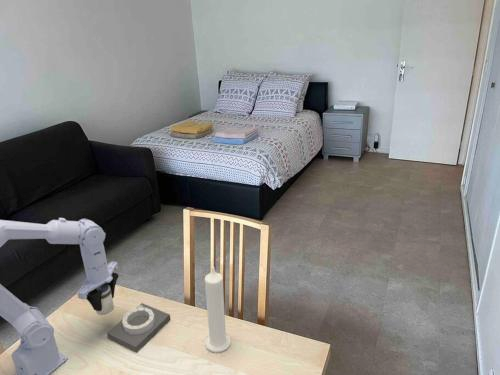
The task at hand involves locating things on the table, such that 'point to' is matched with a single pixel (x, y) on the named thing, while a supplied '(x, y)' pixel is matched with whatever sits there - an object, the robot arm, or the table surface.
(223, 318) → the candle
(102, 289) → the lens
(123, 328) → the camera body
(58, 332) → the table surface
